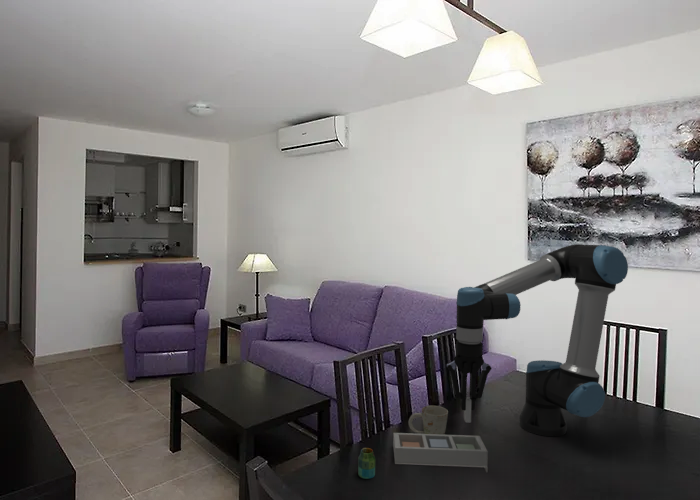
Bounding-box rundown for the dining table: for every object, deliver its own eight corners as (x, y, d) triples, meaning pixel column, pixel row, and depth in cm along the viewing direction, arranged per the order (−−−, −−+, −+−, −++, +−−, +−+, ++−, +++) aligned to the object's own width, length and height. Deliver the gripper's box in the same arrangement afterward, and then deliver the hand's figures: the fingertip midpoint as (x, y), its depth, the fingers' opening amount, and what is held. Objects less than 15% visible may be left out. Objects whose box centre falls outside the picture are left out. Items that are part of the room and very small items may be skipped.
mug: (447, 448, 146) (448, 416, 146) (406, 443, 149) (407, 412, 148) (447, 436, 154) (448, 406, 154) (408, 432, 157) (409, 403, 156)
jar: (357, 475, 129) (357, 446, 129) (373, 474, 129) (374, 446, 129) (358, 484, 124) (359, 455, 124) (376, 483, 125) (376, 454, 124)
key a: (472, 452, 140) (472, 444, 140) (476, 460, 135) (476, 452, 135) (455, 451, 140) (455, 443, 140) (458, 459, 135) (459, 451, 135)
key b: (445, 447, 140) (445, 439, 140) (448, 455, 135) (448, 447, 135) (428, 446, 140) (429, 438, 140) (431, 454, 135) (431, 446, 135)
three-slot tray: (478, 453, 143) (479, 435, 142) (487, 472, 132) (488, 452, 131) (393, 450, 144) (393, 432, 144) (394, 468, 133) (395, 448, 133)
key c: (418, 450, 140) (418, 442, 140) (420, 458, 135) (420, 450, 135) (402, 449, 141) (402, 441, 140) (403, 457, 136) (403, 449, 136)
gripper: (488, 338, 139) (486, 416, 140) (444, 337, 140) (442, 414, 141) (495, 344, 132) (493, 426, 133) (448, 343, 132) (447, 425, 134)
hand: (467, 420), depth 137 cm, fingers closed
